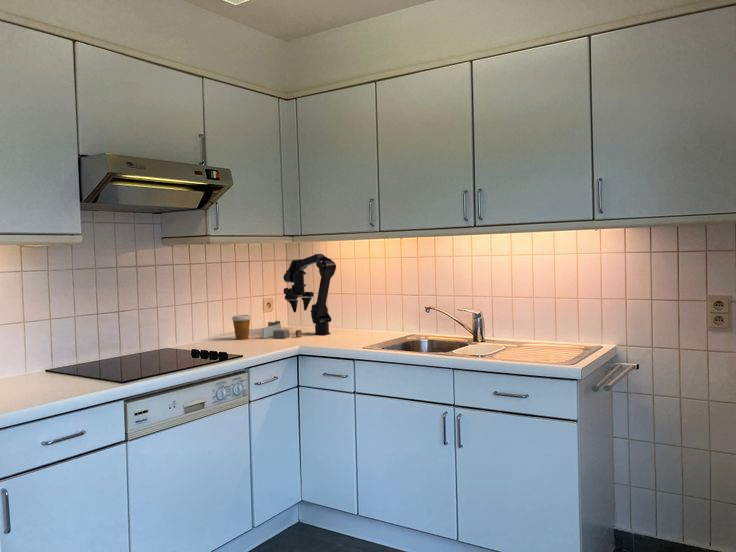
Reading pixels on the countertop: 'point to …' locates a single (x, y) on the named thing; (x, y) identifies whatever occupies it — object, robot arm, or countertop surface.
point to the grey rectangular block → (281, 334)
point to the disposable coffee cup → (241, 326)
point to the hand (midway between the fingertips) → (300, 311)
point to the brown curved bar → (298, 332)
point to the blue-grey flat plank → (270, 330)
